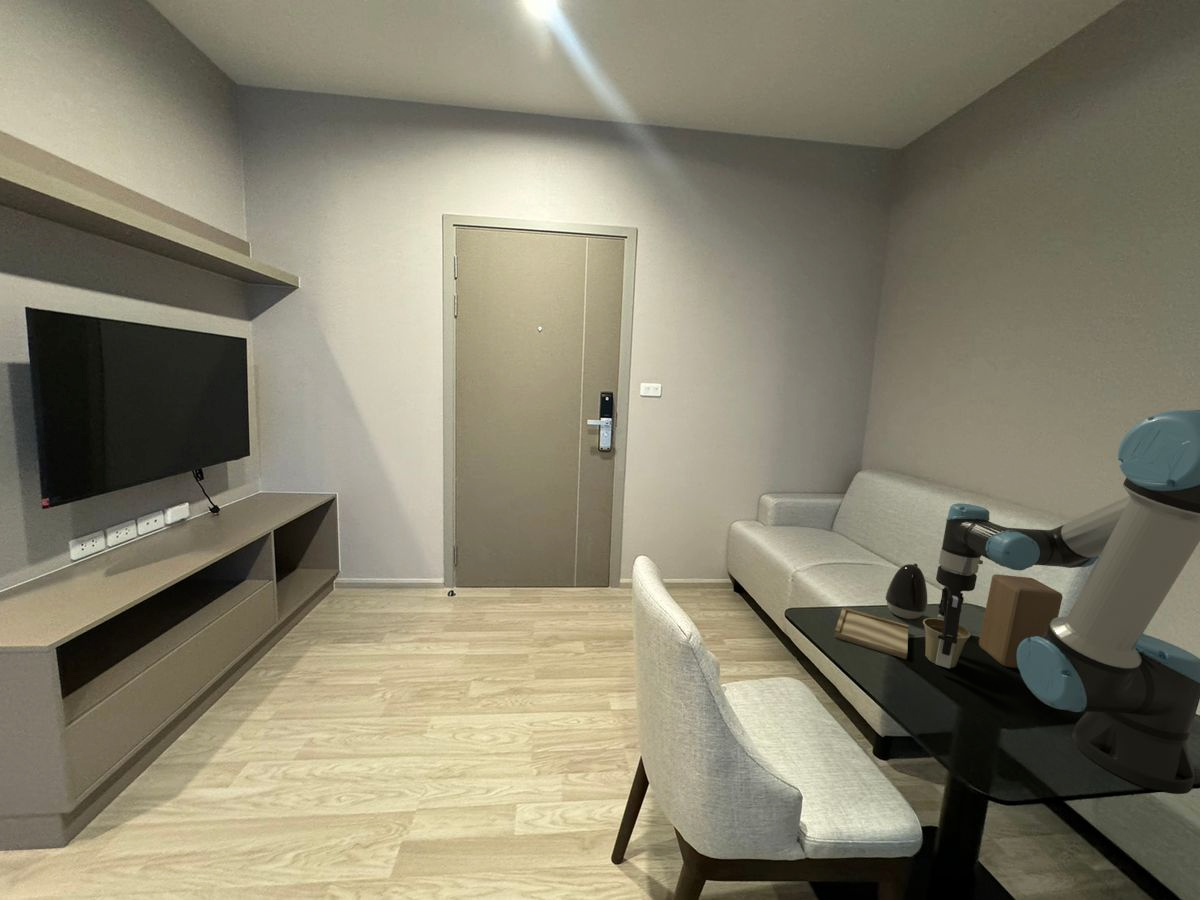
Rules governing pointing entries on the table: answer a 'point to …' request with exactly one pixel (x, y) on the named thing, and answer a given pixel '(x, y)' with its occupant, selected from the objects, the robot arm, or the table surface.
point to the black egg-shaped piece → (907, 592)
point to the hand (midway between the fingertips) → (941, 652)
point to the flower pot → (932, 641)
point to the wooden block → (1016, 615)
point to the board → (873, 632)
